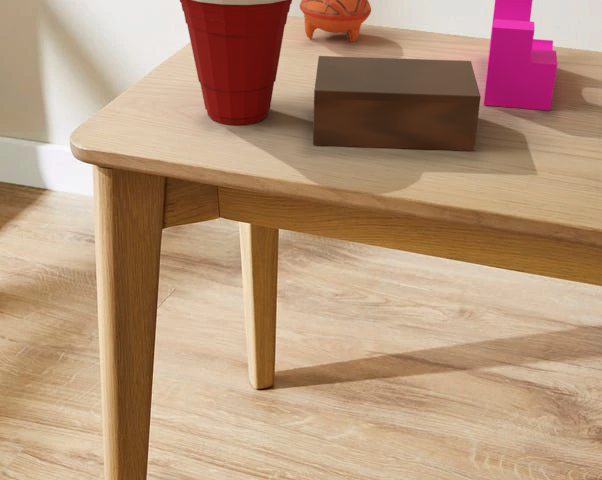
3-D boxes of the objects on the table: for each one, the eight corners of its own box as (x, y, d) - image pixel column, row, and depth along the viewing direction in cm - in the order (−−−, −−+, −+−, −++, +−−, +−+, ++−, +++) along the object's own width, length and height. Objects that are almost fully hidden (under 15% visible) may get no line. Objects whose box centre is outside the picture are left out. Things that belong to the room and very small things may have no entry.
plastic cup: (304, 96, 95) (306, -31, 89) (286, 139, 86) (287, 2, 80) (195, 88, 96) (190, -37, 90) (166, 130, 87) (158, -5, 81)
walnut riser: (465, 112, 92) (471, 60, 89) (474, 151, 85) (480, 96, 82) (317, 106, 93) (318, 55, 90) (312, 145, 85) (314, 90, 82)
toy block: (549, 110, 93) (562, 32, 89) (483, 104, 94) (492, 27, 90) (547, 59, 105) (558, -12, 101) (488, 55, 106) (496, -15, 102)
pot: (300, 20, 114) (315, -37, 111) (363, 41, 114) (380, -16, 111) (286, 39, 108) (302, -21, 104) (353, 61, 108) (371, 1, 104)
